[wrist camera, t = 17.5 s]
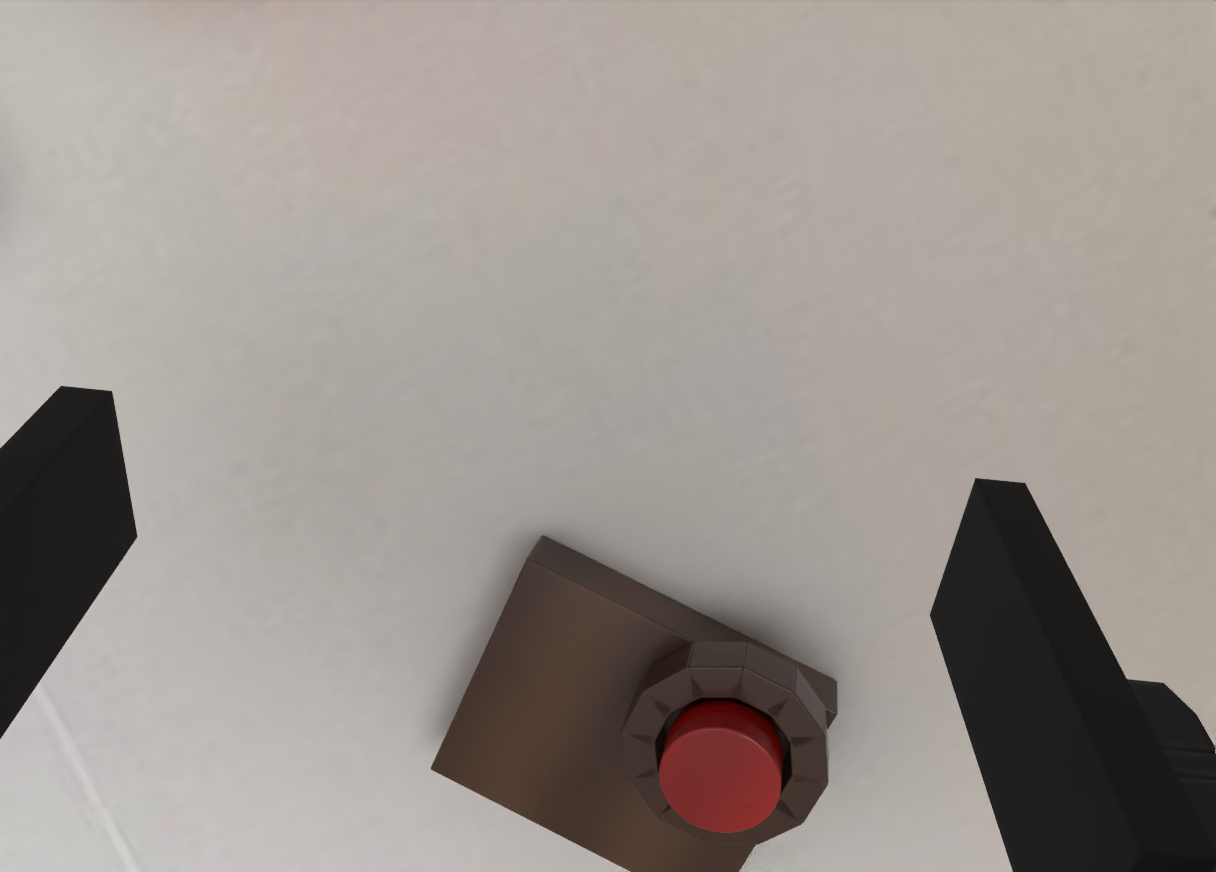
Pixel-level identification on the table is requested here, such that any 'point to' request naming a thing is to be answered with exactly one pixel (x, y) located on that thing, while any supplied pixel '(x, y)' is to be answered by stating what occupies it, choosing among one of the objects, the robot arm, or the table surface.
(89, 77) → the table surface
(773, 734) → the button
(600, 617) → the control block
